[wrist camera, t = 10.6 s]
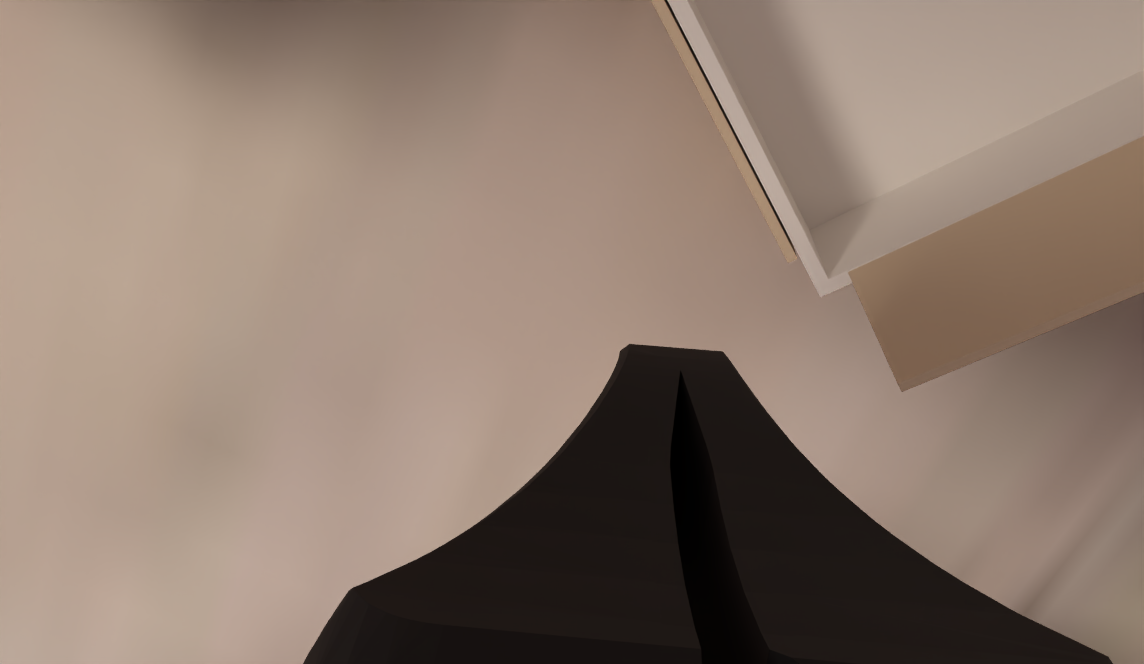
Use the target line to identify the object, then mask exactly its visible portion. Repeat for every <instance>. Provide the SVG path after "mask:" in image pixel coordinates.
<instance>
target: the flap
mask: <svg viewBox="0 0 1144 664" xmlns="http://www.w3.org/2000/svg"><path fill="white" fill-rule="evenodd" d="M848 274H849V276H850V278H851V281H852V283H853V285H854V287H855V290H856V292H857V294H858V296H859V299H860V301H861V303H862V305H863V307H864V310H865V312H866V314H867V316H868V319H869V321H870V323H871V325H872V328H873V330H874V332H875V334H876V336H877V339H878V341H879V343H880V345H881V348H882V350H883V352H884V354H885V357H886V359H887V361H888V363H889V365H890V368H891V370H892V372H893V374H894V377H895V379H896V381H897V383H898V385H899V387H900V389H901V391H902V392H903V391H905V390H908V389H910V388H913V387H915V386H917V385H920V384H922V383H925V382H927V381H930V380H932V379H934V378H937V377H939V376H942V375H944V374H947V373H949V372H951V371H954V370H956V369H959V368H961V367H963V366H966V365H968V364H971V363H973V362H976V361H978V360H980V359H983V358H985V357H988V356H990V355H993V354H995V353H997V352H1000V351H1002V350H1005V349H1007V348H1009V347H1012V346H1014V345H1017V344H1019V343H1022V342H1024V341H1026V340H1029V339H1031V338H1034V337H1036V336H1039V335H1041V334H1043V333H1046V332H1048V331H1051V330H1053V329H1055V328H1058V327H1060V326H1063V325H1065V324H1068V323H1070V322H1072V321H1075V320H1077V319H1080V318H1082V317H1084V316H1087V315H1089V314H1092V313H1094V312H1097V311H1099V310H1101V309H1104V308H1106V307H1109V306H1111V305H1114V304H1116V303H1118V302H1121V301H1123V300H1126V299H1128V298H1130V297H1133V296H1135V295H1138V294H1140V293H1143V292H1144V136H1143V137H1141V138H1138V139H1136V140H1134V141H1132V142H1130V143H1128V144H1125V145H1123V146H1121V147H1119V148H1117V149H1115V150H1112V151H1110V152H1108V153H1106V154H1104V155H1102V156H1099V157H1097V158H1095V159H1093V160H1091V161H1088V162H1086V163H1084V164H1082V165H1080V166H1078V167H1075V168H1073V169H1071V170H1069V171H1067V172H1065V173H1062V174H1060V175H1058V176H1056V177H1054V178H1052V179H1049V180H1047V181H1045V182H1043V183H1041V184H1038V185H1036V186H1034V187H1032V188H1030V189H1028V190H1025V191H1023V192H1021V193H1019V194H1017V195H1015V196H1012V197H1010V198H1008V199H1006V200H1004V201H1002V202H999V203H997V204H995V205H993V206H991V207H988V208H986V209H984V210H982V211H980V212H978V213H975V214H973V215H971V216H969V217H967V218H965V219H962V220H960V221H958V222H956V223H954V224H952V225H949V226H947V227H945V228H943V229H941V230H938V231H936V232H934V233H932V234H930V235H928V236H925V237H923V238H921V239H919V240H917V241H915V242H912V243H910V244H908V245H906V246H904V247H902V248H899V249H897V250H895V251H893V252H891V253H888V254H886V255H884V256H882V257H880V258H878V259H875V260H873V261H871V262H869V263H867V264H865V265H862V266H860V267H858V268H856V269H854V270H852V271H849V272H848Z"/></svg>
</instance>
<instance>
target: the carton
mask: <svg viewBox="0 0 1144 664" xmlns="http://www.w3.org/2000/svg"><path fill="white" fill-rule="evenodd" d="M651 1H652V3H653V5H654V7H655V9H656V11H657V13H658V15H659V17H660V19H661V21H662V23H663V24H664V26H665V28H666V30H667V32H668V34H669V36H670V38H671V40H672V42H673V44H674V46H675V47H676V49H677V51H678V53H679V55H680V57H681V59H682V61H683V63H684V65H685V67H686V69H687V70H688V72H689V74H690V76H691V78H692V80H693V82H694V84H695V86H696V88H697V90H698V91H699V93H700V95H701V97H702V99H703V101H704V103H705V105H706V107H707V109H708V111H709V113H710V114H711V116H712V118H713V120H714V122H715V124H716V126H717V128H718V130H719V132H720V134H721V136H722V137H723V139H724V141H725V143H726V145H727V147H728V149H729V151H730V153H731V155H732V157H733V159H734V160H735V162H736V164H737V166H738V168H739V170H740V172H741V174H742V176H743V178H744V180H745V182H746V183H747V185H748V187H749V189H750V191H751V193H752V195H753V197H754V199H755V201H756V203H757V205H758V206H759V208H760V210H761V212H762V214H763V216H764V218H765V220H766V222H767V224H768V226H769V227H770V229H771V231H772V233H773V235H774V237H775V239H776V241H777V243H778V245H779V247H780V249H781V250H782V252H783V254H784V256H785V258H786V260H787V262H788V263H789V262H792V261H794V260H796V259H797V256H796V253H795V250H794V247H795V249H796V251H797V253H798V255H799V257H800V259H801V261H802V263H803V265H804V267H805V269H806V271H807V272H808V274H809V276H810V278H811V280H812V282H813V284H814V286H815V288H816V290H817V292H818V294H819V296H820V298H821V297H823V296H825V295H827V294H829V293H832V292H834V291H836V290H838V289H840V288H843V287H845V286H847V285H849V284H851V283H852V281H851V278H850V276H849V274H848V272H849V271H852V270H854V269H856V268H858V267H860V266H862V265H865V264H867V263H869V262H871V261H873V260H875V259H878V258H880V257H882V256H884V255H886V254H888V253H891V252H893V251H895V250H897V249H899V248H902V247H904V246H906V245H908V244H910V243H912V242H915V241H917V240H919V239H921V238H923V237H925V236H928V235H930V234H932V233H934V232H936V231H938V230H941V229H943V228H945V227H947V226H949V225H952V224H954V223H956V222H958V221H960V220H962V219H965V218H967V217H969V216H971V215H973V214H975V213H978V212H980V211H982V210H984V209H986V208H988V207H991V206H993V205H995V204H997V203H999V202H1002V201H1004V200H1006V199H1008V198H1010V197H1012V196H1015V195H1017V194H1019V193H1021V192H1023V191H1025V190H1028V189H1030V188H1032V187H1034V186H1036V185H1038V184H1041V183H1043V182H1045V181H1047V180H1049V179H1052V178H1054V177H1056V176H1058V175H1060V174H1062V173H1065V172H1067V171H1069V170H1071V169H1073V168H1075V167H1078V166H1080V165H1082V164H1084V163H1086V162H1088V161H1091V160H1093V159H1095V158H1097V157H1099V156H1102V155H1104V154H1106V153H1108V152H1110V151H1112V150H1115V149H1117V148H1119V147H1121V146H1123V145H1125V144H1128V143H1130V142H1132V141H1134V140H1136V139H1138V138H1141V137H1143V136H1144V0H651ZM792 243H793V244H792ZM793 245H794V247H793Z"/></svg>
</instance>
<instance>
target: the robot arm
mask: <svg viewBox="0 0 1144 664" xmlns="http://www.w3.org/2000/svg"><path fill="white" fill-rule="evenodd" d="M303 664H1113V663H1112V662H1111V660H1110V659H1109V657H1108V656H1106V655H1103V654H1101V653H1099V652H1097V651H1095V650H1093V649H1091V648H1089V647H1087V646H1085V645H1083V644H1081V643H1078V642H1076V641H1074V640H1072V639H1070V638H1068V637H1066V636H1064V635H1062V634H1060V633H1058V632H1055V631H1053V630H1051V629H1049V628H1047V627H1045V626H1043V625H1041V624H1039V623H1037V622H1035V621H1033V620H1030V619H1028V618H1026V617H1024V616H1022V615H1020V614H1018V613H1016V612H1015V611H1013V610H1011V609H1009V608H1007V607H1005V606H1004V605H1002V604H1000V603H998V602H997V601H995V600H993V599H992V598H990V597H988V596H986V595H985V594H983V593H981V592H979V591H978V590H976V589H974V588H972V587H971V586H969V585H967V584H965V583H964V582H962V581H960V580H959V579H957V578H956V577H954V576H953V575H951V574H949V573H948V572H946V571H945V570H943V569H941V568H940V567H938V566H937V565H935V564H934V563H932V562H931V561H929V560H928V559H926V558H925V557H923V556H922V555H921V554H919V553H918V552H916V551H915V550H914V549H912V548H911V547H909V546H908V545H906V544H905V543H904V542H902V541H901V540H899V539H898V538H896V537H895V536H894V535H892V534H891V533H890V532H888V531H887V530H886V529H885V528H883V527H882V526H881V525H879V524H878V523H877V522H875V521H874V520H873V519H872V518H870V517H869V516H868V515H867V514H866V513H865V512H863V511H862V510H861V509H860V508H859V507H858V506H856V505H855V504H854V503H853V502H852V501H851V500H849V499H848V498H847V497H846V496H845V495H844V494H842V493H841V492H840V491H839V490H838V489H837V488H836V487H835V486H834V485H833V484H832V483H830V482H829V481H828V480H827V479H826V478H825V477H824V476H823V475H822V474H821V473H820V472H819V471H818V470H817V469H816V468H815V467H814V466H813V465H812V464H811V462H810V461H809V460H808V459H807V458H806V457H805V456H804V455H803V454H802V453H801V452H800V451H799V450H798V449H797V448H796V447H795V445H794V444H793V443H792V442H791V441H790V440H789V438H788V437H787V436H786V435H785V433H784V432H783V431H782V430H781V429H780V427H779V426H778V425H777V424H776V423H775V421H774V420H773V419H772V418H771V416H770V415H769V414H768V413H767V411H766V410H765V409H764V407H763V406H762V405H761V403H760V402H759V401H758V399H757V398H756V397H755V395H754V394H753V393H752V391H751V390H750V388H749V387H748V386H747V384H746V383H745V381H744V380H743V379H742V377H741V376H740V374H739V373H738V371H737V370H736V368H735V367H734V366H733V364H732V363H731V361H730V360H729V359H728V357H727V356H726V355H725V354H724V352H721V351H709V350H697V349H684V348H672V347H660V346H647V345H635V344H629V345H628V346H626V347H625V348H624V349H622V350H621V351H620V354H619V359H618V361H617V364H616V367H615V369H614V371H613V373H612V375H611V377H610V379H609V381H608V382H607V384H606V386H605V388H604V390H603V391H602V393H601V394H600V396H599V397H598V399H597V400H596V402H595V403H594V405H593V406H592V408H591V409H590V411H589V412H588V414H587V415H586V417H585V418H584V419H583V421H582V422H581V424H580V425H579V426H578V427H577V428H576V430H575V431H574V432H573V433H572V435H571V436H570V437H569V438H568V439H567V441H566V442H565V443H564V444H563V446H562V447H561V448H560V449H559V451H558V452H557V453H556V454H555V455H554V456H553V457H552V458H551V459H550V460H549V461H548V463H547V464H546V465H545V466H544V467H543V468H542V469H541V470H540V471H539V472H538V473H537V474H536V475H535V476H534V477H533V478H531V479H530V480H529V481H528V482H527V483H526V484H525V485H524V486H523V487H522V488H521V489H520V490H519V491H517V492H516V493H515V494H514V495H513V496H511V497H510V498H509V499H508V500H506V501H505V502H504V503H503V504H502V505H500V506H499V507H498V508H497V509H496V510H494V511H493V512H492V513H491V514H489V515H488V516H487V517H485V518H484V519H483V520H481V521H480V522H478V523H477V524H476V525H474V526H473V527H471V528H470V529H468V530H467V531H465V532H463V533H462V534H460V535H459V536H457V537H455V538H454V539H452V540H451V541H449V542H447V543H446V544H444V545H442V546H441V547H439V548H437V549H435V550H434V551H432V552H430V553H428V554H426V555H424V556H422V557H420V558H418V559H417V560H414V561H412V562H410V563H408V564H406V565H403V566H401V567H399V568H397V569H395V570H392V571H390V572H388V573H386V574H384V575H381V576H379V577H377V578H375V579H373V580H370V581H368V582H366V583H363V584H361V585H358V586H356V587H353V588H352V589H351V590H349V591H348V593H347V594H346V596H345V597H344V598H343V600H342V601H341V603H340V604H339V606H338V607H337V609H336V610H335V612H334V613H333V615H332V616H331V618H330V619H329V621H328V622H327V624H326V625H325V627H324V629H323V630H322V632H321V634H320V636H319V637H318V639H317V641H316V642H315V644H314V646H313V647H312V649H311V650H310V652H309V654H308V656H307V657H306V659H305V661H304V663H303Z"/></svg>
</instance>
